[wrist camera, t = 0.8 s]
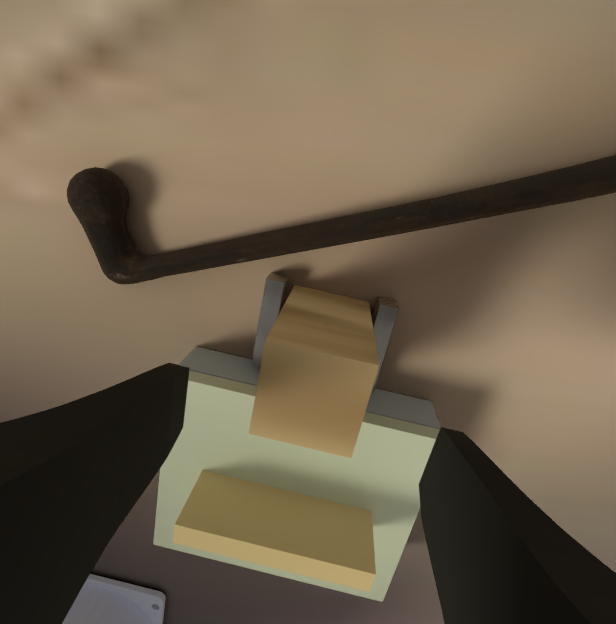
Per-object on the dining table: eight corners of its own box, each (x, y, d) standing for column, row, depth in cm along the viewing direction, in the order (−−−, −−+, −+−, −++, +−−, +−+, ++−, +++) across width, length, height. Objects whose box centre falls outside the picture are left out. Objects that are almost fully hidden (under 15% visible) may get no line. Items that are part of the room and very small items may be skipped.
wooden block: (350, 368, 19) (351, 458, 13) (281, 351, 19) (248, 433, 13) (368, 301, 18) (379, 365, 11) (294, 284, 18) (265, 339, 12)
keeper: (371, 379, 19) (373, 392, 18) (257, 353, 19) (251, 364, 18) (395, 300, 17) (398, 308, 16) (271, 272, 18) (266, 278, 16)
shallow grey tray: (378, 546, 22) (381, 584, 20) (178, 497, 22) (161, 529, 20) (431, 401, 19) (441, 428, 17) (196, 346, 19) (177, 366, 17)
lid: (381, 586, 20) (388, 674, 16) (160, 531, 20) (120, 605, 17) (442, 429, 17) (467, 497, 13) (176, 367, 17) (130, 416, 13)
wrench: (108, 171, 19) (910, -35, 12) (145, 269, 21) (862, 138, 14) (18, 178, 14) (1256, -154, 7) (76, 304, 16) (1114, 132, 9)
